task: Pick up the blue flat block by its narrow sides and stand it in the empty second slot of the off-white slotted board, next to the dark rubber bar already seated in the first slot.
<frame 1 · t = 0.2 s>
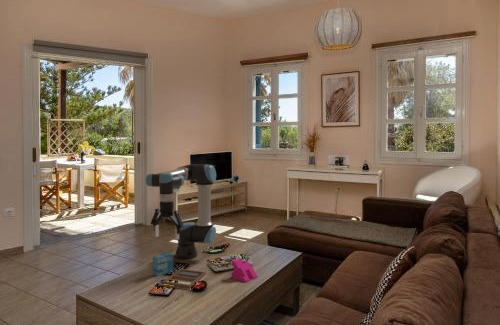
hand: (167, 238, 215), 27 cm above the table, fingers open, 13 cm apart
slot board: (185, 281, 222), on the table
rubber bar: (188, 276, 227), point 1 cm above the table, touching slot board
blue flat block: (163, 274, 233), on the table
pink plastic figure: (244, 277, 229), on the table
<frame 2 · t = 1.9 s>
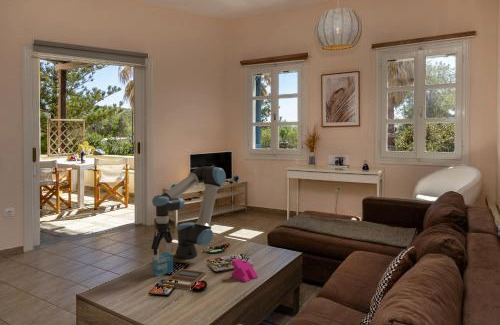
hand: (162, 256, 232), 11 cm above the table, fingers open, 13 cm apart
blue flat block: (163, 274, 233), on the table, touching gripper
everything else where it was.
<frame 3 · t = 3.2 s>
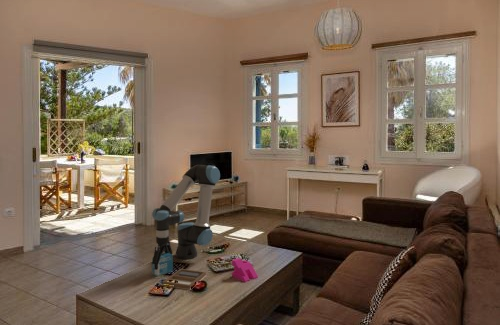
hand: (162, 270, 233), 2 cm above the table, fingers closed on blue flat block, 13 cm apart
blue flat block: (162, 274, 233), on the table, touching gripper
everything else where it was.
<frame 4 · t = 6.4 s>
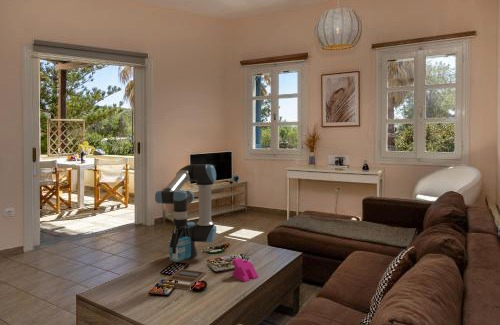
hand: (180, 255, 216), 17 cm above the table, fingers closed on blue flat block, 13 cm apart
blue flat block: (180, 259, 216), point 15 cm above the table, touching gripper
everything else where it was.
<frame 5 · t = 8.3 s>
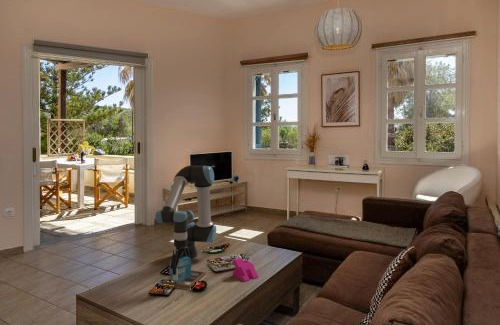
hand: (180, 275, 217), 5 cm above the table, fingers closed on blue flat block, 13 cm apart
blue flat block: (180, 279, 217), point 3 cm above the table, touching gripper
when the fingers open (5 cm above the table, at t = 9.6 s): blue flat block stays where it is, resting on slot board.
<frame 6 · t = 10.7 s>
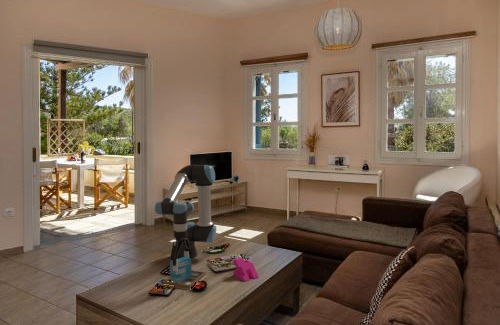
hand: (181, 266, 217), 11 cm above the table, fingers open, 13 cm apart
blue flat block: (180, 279, 217), point 3 cm above the table, touching slot board
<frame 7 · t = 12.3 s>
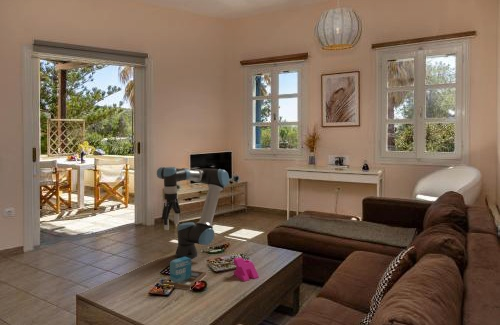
hand: (171, 226, 233), 29 cm above the table, fingers open, 13 cm apart
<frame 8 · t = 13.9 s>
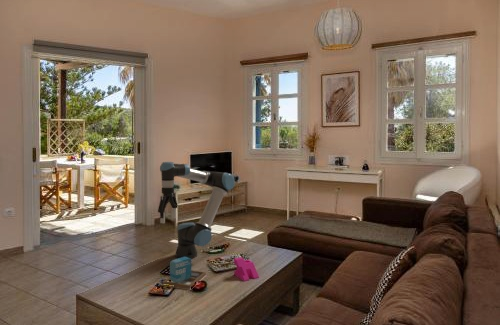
hand: (168, 220, 237), 32 cm above the table, fingers open, 13 cm apart
at the end: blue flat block inside the target area on the slot board (0.3 cm from its centre), point 2.6 cm above the slot board's base; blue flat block tilted 0°; the gripper is holding nothing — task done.
